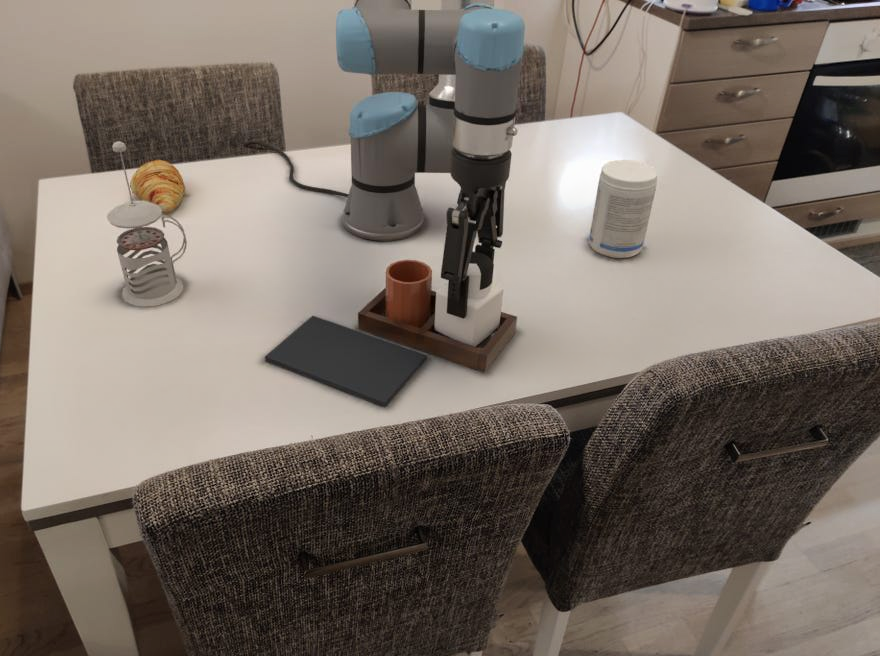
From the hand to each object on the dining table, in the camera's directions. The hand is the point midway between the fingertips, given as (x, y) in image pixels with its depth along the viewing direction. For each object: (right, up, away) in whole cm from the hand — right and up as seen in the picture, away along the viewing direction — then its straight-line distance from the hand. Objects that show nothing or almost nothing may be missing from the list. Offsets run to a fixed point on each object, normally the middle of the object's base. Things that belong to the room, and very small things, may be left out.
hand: (469, 299), depth 105 cm
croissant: (-59, +24, +42) cm, 76 cm away
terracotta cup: (-9, -3, +8) cm, 12 cm away
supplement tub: (+29, +12, +27) cm, 41 cm away
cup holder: (-4, -4, +6) cm, 9 cm away
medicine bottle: (0, -4, +3) cm, 5 cm away
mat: (-18, -9, 0) cm, 20 cm away
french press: (-50, +3, +15) cm, 52 cm away
